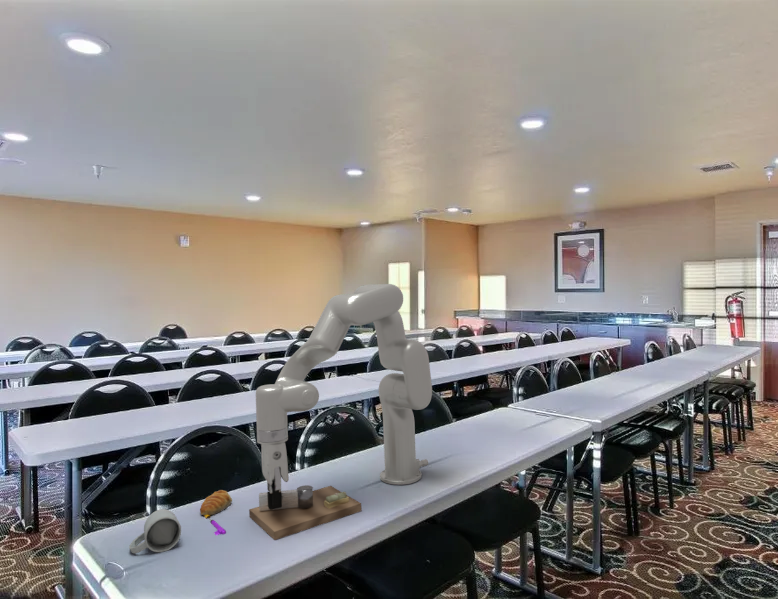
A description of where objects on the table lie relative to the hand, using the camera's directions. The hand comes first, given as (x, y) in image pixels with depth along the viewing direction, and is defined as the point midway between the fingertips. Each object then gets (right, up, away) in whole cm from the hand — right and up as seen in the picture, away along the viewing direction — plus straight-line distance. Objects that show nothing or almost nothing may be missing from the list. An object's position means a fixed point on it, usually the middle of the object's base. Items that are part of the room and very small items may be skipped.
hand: (274, 507), depth 129 cm
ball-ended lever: (+2, -1, +3) cm, 4 cm away
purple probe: (-16, -5, +1) cm, 17 cm away
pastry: (-18, -5, +10) cm, 21 cm away
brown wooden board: (+7, -3, +4) cm, 9 cm away
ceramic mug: (-25, -5, -10) cm, 28 cm away
